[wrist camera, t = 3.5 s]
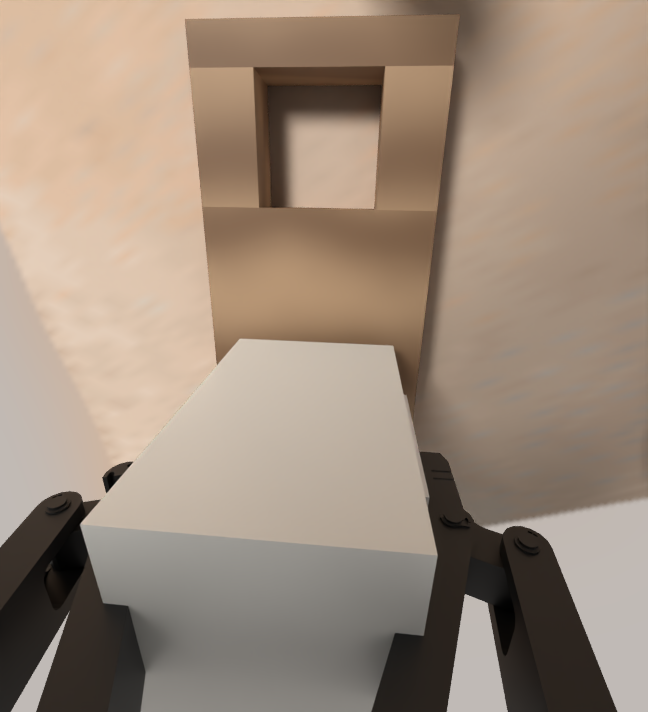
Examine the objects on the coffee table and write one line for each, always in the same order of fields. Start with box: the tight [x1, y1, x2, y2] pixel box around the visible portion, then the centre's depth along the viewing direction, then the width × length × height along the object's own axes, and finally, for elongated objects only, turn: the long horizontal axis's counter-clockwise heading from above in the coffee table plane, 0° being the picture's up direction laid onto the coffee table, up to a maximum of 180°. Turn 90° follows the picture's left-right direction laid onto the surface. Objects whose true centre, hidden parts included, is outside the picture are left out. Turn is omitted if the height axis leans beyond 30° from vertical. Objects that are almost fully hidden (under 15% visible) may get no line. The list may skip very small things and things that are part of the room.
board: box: [185, 14, 460, 422], centre depth 14 cm, size 20×10×12 cm, turn 179°
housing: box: [80, 339, 438, 712], centre depth 14 cm, size 7×7×11 cm
